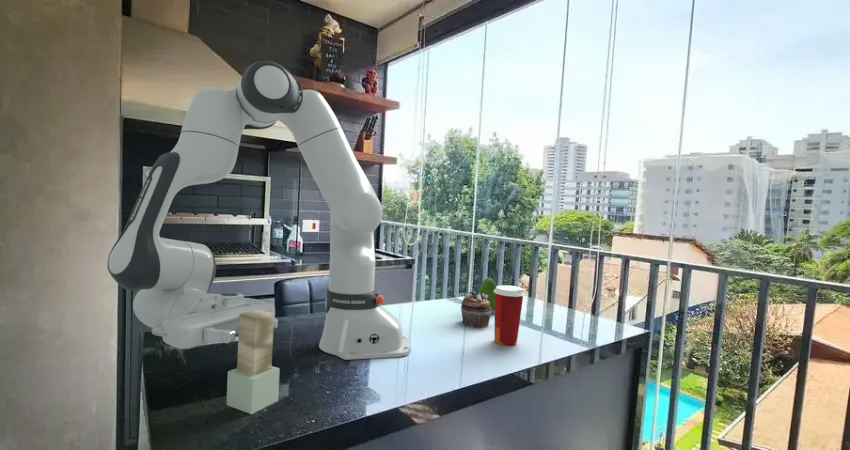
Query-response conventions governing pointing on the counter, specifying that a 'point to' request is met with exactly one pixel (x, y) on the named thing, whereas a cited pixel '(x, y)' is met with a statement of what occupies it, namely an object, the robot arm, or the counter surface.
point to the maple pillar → (255, 342)
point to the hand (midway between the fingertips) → (254, 330)
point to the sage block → (252, 390)
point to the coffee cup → (507, 314)
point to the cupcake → (476, 310)
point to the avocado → (489, 291)
